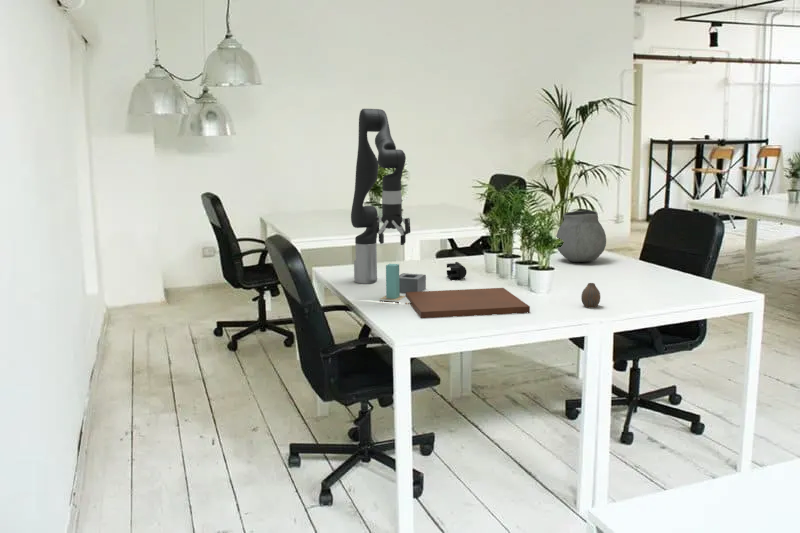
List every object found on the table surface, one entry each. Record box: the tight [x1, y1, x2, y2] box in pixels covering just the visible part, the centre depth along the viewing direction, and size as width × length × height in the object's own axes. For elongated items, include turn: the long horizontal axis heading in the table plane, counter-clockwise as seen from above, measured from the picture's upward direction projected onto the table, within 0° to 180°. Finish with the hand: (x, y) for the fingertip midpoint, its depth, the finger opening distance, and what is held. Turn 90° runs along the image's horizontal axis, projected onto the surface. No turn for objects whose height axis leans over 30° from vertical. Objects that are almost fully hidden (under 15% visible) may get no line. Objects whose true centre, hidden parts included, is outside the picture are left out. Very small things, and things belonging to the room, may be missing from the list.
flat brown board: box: [405, 287, 531, 319], centre depth 286 cm, size 40×3×33 cm
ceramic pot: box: [555, 210, 607, 263], centre depth 371 cm, size 24×24×25 cm
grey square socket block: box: [399, 272, 427, 294], centre depth 307 cm, size 10×10×7 cm
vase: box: [580, 282, 601, 308], centre depth 281 cm, size 7×7×9 cm
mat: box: [379, 295, 407, 304], centre depth 295 cm, size 8×8×1 cm
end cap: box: [446, 261, 468, 281], centre depth 336 cm, size 10×7×7 cm
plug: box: [385, 263, 401, 299], centre depth 294 cm, size 4×4×13 cm
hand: (392, 244), depth 291 cm, fingers open, 8 cm apart
